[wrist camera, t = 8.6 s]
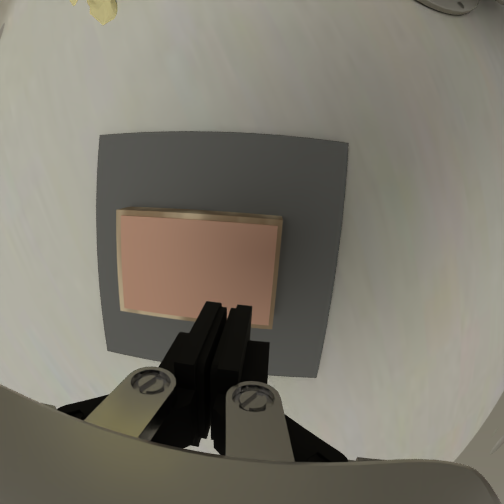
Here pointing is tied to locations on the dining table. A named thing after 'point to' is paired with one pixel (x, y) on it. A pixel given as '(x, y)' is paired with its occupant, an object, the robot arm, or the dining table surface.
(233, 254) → the tile
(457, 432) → the dining table surface
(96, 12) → the cloth
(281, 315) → the mat
